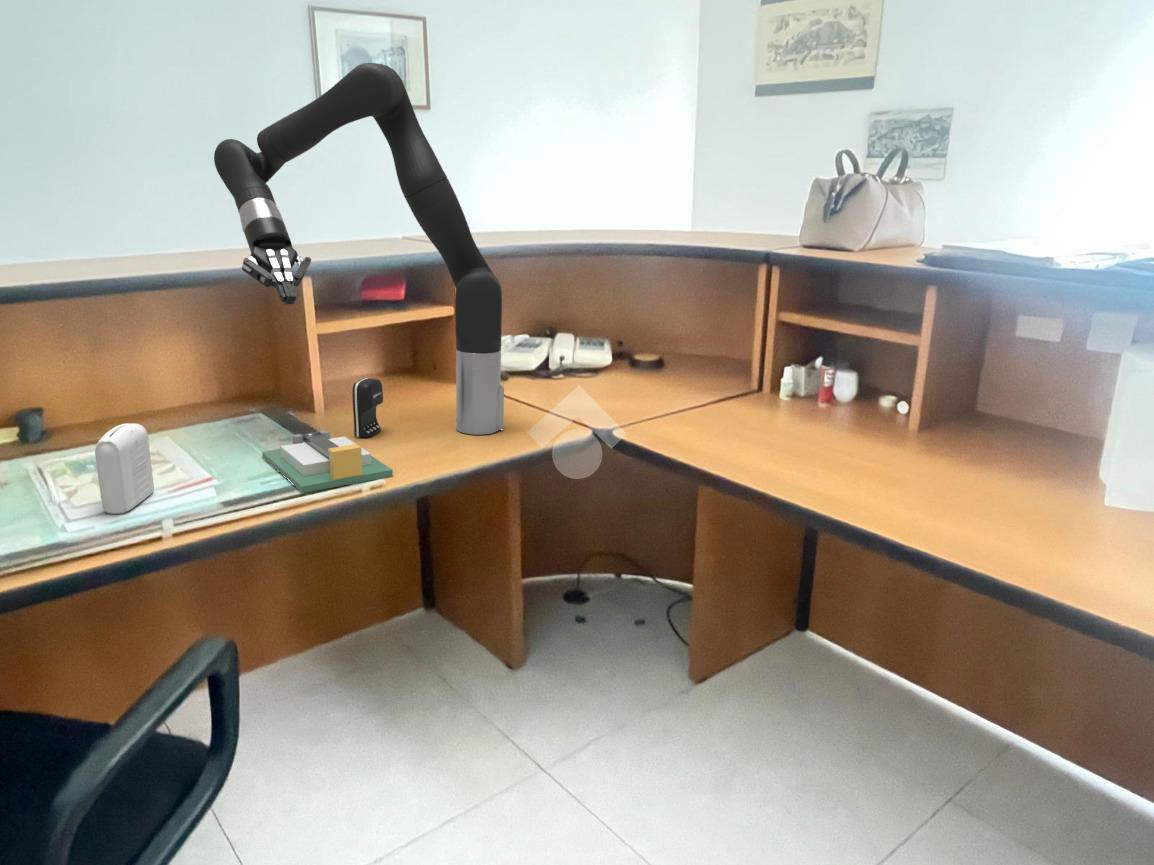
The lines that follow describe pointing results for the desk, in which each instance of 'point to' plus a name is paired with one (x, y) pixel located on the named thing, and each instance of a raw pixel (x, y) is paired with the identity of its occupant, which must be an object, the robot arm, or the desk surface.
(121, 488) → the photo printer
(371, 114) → the robot arm
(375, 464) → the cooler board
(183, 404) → the desk surface
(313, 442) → the gray flat bar
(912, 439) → the desk surface
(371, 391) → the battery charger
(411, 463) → the desk surface
